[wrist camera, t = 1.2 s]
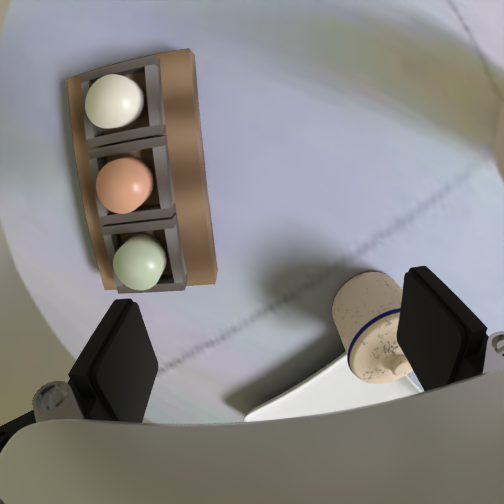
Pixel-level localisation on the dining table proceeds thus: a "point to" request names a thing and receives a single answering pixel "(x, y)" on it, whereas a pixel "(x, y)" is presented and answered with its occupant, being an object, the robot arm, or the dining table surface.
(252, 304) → the dining table surface
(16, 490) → the robot arm
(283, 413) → the salad plate
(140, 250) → the sage button
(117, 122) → the cream button
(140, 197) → the terracotta button
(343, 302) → the teacup with lid
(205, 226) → the button console
